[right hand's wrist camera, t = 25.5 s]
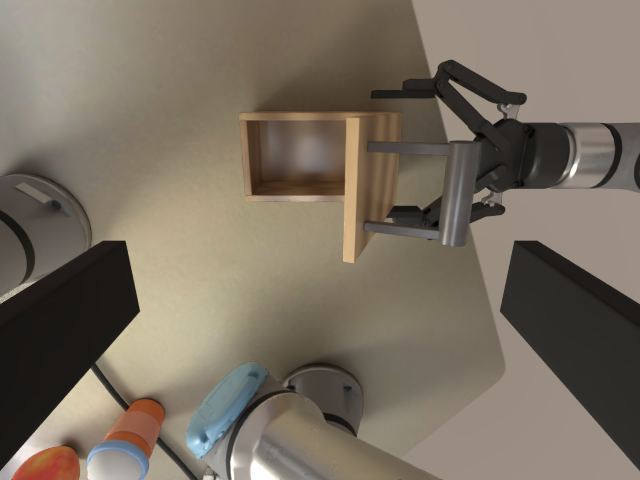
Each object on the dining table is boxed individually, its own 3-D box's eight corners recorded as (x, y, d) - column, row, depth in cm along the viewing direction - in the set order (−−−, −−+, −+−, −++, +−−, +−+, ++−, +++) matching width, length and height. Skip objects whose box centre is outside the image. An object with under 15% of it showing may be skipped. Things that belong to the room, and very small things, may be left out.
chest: (258, 185, 50) (245, 201, 41) (253, 111, 46) (238, 112, 38) (379, 185, 50) (391, 201, 41) (383, 111, 46) (397, 112, 38)
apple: (39, 463, 69) (-6, 519, 59) (42, 428, 65) (-5, 481, 56) (89, 474, 70) (54, 531, 60) (95, 440, 67) (58, 495, 57)
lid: (342, 261, 25) (462, 279, 23) (346, 117, 22) (488, 118, 19) (388, 202, 41) (463, 209, 38) (394, 112, 38) (477, 112, 35)
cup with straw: (166, 390, 62) (109, 495, 45) (178, 428, 65) (129, 540, 49) (115, 393, 63) (40, 499, 46) (130, 432, 66) (64, 544, 49)
